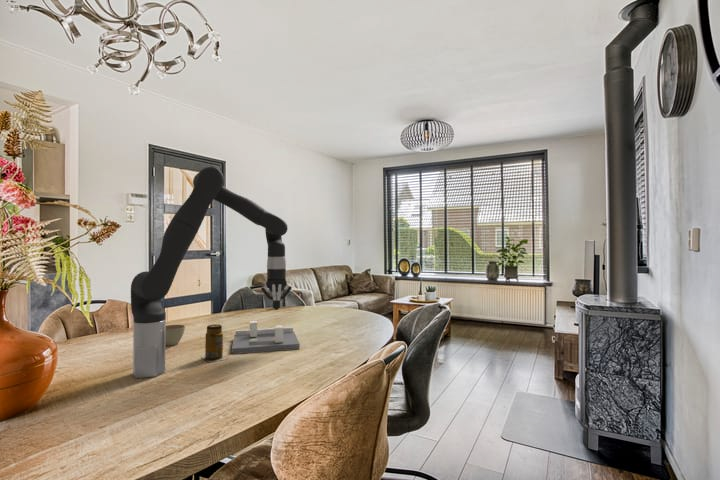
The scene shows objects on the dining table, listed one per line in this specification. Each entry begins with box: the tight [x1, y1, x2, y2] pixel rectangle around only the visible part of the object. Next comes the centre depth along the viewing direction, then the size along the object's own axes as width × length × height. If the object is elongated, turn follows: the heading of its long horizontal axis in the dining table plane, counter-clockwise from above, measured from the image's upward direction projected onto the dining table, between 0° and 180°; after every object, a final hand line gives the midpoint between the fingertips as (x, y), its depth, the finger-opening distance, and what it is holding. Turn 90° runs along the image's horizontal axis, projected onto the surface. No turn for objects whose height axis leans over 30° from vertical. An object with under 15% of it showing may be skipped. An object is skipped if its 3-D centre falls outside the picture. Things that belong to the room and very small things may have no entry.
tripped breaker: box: [274, 324, 283, 343], centre depth 154 cm, size 4×3×6 cm
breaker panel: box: [231, 326, 301, 355], centre depth 158 cm, size 22×26×4 cm
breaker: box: [249, 320, 258, 337], centre depth 163 cm, size 4×3×6 cm
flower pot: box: [165, 324, 186, 346], centre depth 157 cm, size 10×10×7 cm
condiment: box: [200, 323, 229, 363], centre depth 139 cm, size 7×8×12 cm
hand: (276, 309), depth 154 cm, fingers closed
